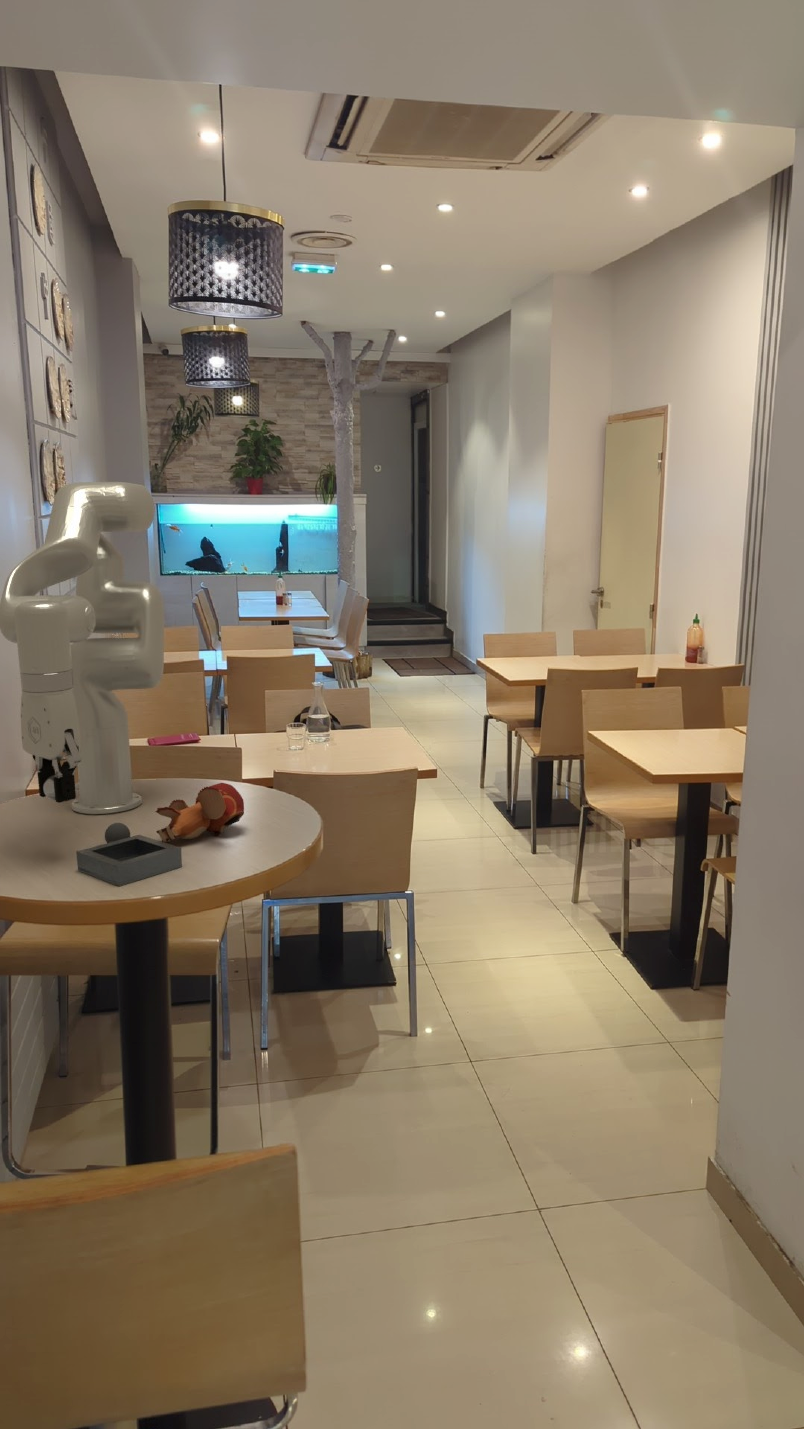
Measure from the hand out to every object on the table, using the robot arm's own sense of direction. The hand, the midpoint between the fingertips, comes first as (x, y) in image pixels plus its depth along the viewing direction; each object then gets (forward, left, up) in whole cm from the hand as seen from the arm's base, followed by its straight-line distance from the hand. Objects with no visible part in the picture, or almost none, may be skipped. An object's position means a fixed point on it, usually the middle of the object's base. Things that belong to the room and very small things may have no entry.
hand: (57, 796), depth 152 cm
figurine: (+8, +20, -10) cm, 24 cm away
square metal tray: (+14, +3, -10) cm, 17 cm away
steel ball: (0, 0, +1) cm, 1 cm away
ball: (+3, +8, -8) cm, 12 cm away
